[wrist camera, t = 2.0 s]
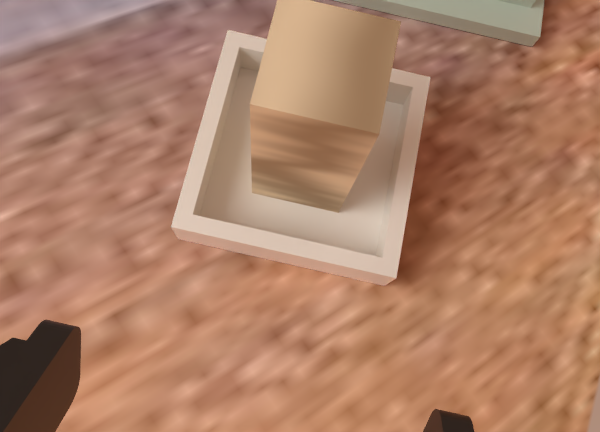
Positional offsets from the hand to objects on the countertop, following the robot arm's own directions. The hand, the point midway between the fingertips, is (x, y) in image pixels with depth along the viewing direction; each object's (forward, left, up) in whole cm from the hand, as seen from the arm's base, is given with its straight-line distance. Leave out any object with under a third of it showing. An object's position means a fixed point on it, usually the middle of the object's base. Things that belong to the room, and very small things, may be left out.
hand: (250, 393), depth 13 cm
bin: (-2, +11, -15) cm, 18 cm away
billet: (-2, +11, -14) cm, 18 cm away
